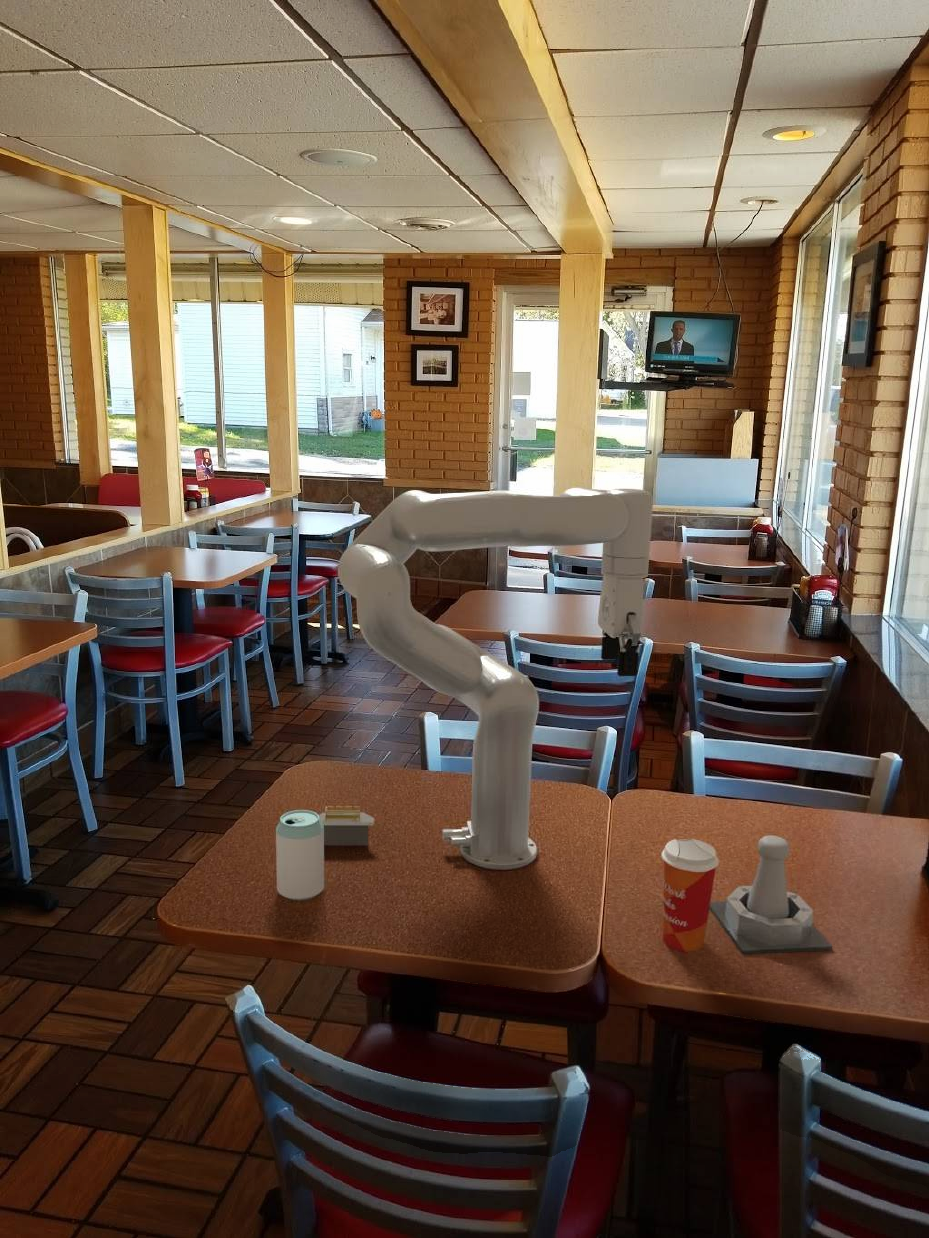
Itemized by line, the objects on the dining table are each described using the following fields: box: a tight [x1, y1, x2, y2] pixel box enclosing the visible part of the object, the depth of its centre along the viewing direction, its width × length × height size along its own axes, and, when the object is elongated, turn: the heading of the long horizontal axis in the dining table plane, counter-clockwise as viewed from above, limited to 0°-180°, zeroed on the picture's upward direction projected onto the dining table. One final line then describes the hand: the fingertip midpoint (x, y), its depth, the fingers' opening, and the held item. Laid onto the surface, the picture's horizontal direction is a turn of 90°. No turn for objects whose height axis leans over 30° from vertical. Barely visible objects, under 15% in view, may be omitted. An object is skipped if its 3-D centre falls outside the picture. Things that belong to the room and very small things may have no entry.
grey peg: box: [747, 835, 791, 919], centre depth 138 cm, size 6×6×13 cm
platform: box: [318, 806, 375, 846], centre depth 161 cm, size 12×18×7 cm, turn 93°
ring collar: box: [709, 885, 833, 956], centre depth 139 cm, size 13×13×4 cm
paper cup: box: [661, 838, 720, 953], centre depth 133 cm, size 8×8×14 cm
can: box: [275, 809, 325, 901], centre depth 144 cm, size 7×7×12 cm
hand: (618, 667), depth 160 cm, fingers open, 9 cm apart
